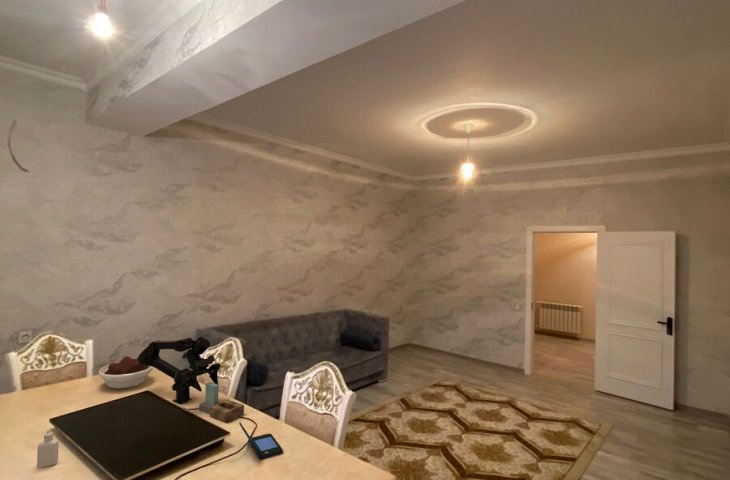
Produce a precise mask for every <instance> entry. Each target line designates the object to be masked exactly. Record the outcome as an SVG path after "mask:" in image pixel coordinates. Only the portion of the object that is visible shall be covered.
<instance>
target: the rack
mask: <svg viewBox="0 0 730 480" xmlns="http://www.w3.org/2000/svg"><path fill="white" fill-rule="evenodd" d="M219 402H220V403H218V404H215V405H213V406H211V407H210V413H209V414H208V416H209V418H212V419H214V420H217V421H219V422H220V423H221V422H222V423H224V424H228V423H230V422H232V421H234V420H237V419H238V418H240V417H242V416H244V415H245V405H244V404H242V403H241V402H240V403H239V402H236V401H234V400H230V399H225V400H223V401H219Z"/></svg>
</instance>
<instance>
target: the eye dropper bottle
mask: <svg viewBox="0 0 730 480" xmlns="http://www.w3.org/2000/svg"><path fill="white" fill-rule="evenodd" d="M59 445H60V444H59V440H58V439H55V438H54V432H53V431H51V429H50V428H49V429H47V432H46V433H45V434H44V435H43V440H42V441H40V442H39V443H38V445H37V449H36V451H37V454H36V455H37V457H36V467H38V466H47V467H51V465H52V466H54V465H55V466H56V464H57V463H58V462H59V447H60V446H59Z"/></svg>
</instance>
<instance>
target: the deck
mask: <svg viewBox="0 0 730 480" xmlns="http://www.w3.org/2000/svg"><path fill="white" fill-rule="evenodd" d="M220 402H221V401H219V400H218V403H220ZM198 406H199V407H198V408H199V412H200V413H201V412H202V413H204V414H207V415H209V413H210V407H211V406H212V405H209V404H206V403H205V401H204V402H202V403H200V404H199V405H198Z"/></svg>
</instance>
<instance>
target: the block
mask: <svg viewBox="0 0 730 480" xmlns="http://www.w3.org/2000/svg"><path fill="white" fill-rule="evenodd" d="M219 387H220V385H219V384H218V385H217V384H215V383H214V382H211V381H210V382H206V383H205V394H204V395H205V396H204V402H205V403H206V404H209V405H212V406H213V405H215V404H218V401H219V391H220V390H219V389H220V388H219Z"/></svg>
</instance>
